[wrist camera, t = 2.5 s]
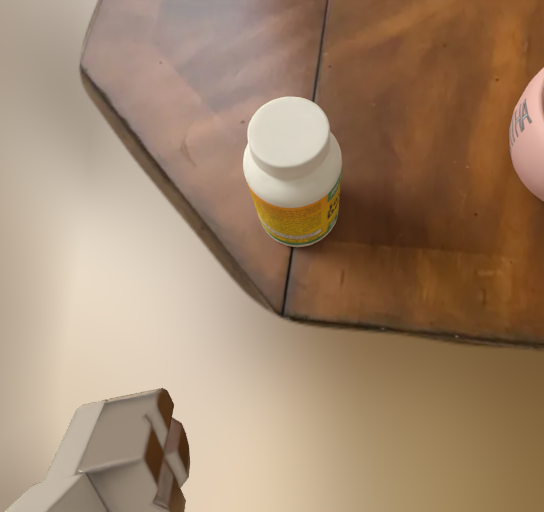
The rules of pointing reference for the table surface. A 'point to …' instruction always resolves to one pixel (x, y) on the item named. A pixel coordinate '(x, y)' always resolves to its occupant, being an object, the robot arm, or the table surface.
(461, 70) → the table surface
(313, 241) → the supplement bottle
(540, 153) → the mug
